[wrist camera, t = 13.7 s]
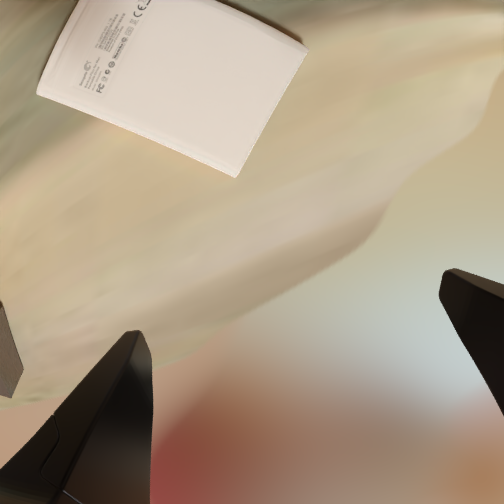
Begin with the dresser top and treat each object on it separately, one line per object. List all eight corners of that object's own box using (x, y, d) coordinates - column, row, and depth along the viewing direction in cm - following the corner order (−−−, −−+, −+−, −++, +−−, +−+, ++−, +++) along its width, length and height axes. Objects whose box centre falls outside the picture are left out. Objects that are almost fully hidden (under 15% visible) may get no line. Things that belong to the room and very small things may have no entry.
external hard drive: (233, 172, 18) (45, 94, 14) (302, 51, 15) (109, -29, 11) (236, 179, 17) (32, 94, 13) (311, 47, 14) (102, -38, 10)
